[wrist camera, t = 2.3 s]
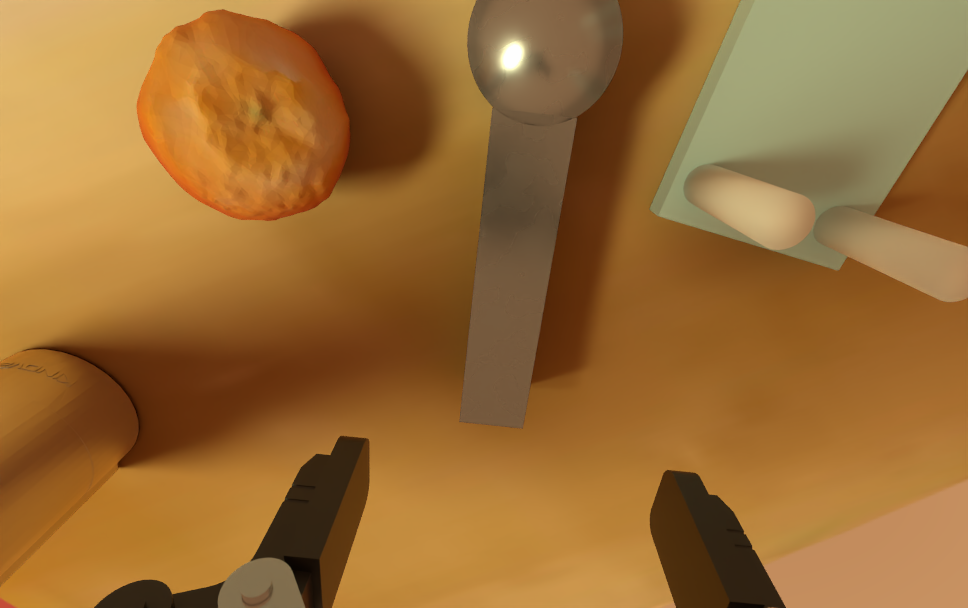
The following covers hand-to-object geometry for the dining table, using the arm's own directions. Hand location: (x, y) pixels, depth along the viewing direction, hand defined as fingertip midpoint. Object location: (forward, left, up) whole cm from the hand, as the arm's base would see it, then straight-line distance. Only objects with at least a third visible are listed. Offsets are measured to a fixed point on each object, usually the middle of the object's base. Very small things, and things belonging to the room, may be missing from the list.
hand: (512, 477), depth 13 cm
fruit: (+5, +13, -15) cm, 21 cm away
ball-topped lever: (+5, +1, -15) cm, 16 cm away
